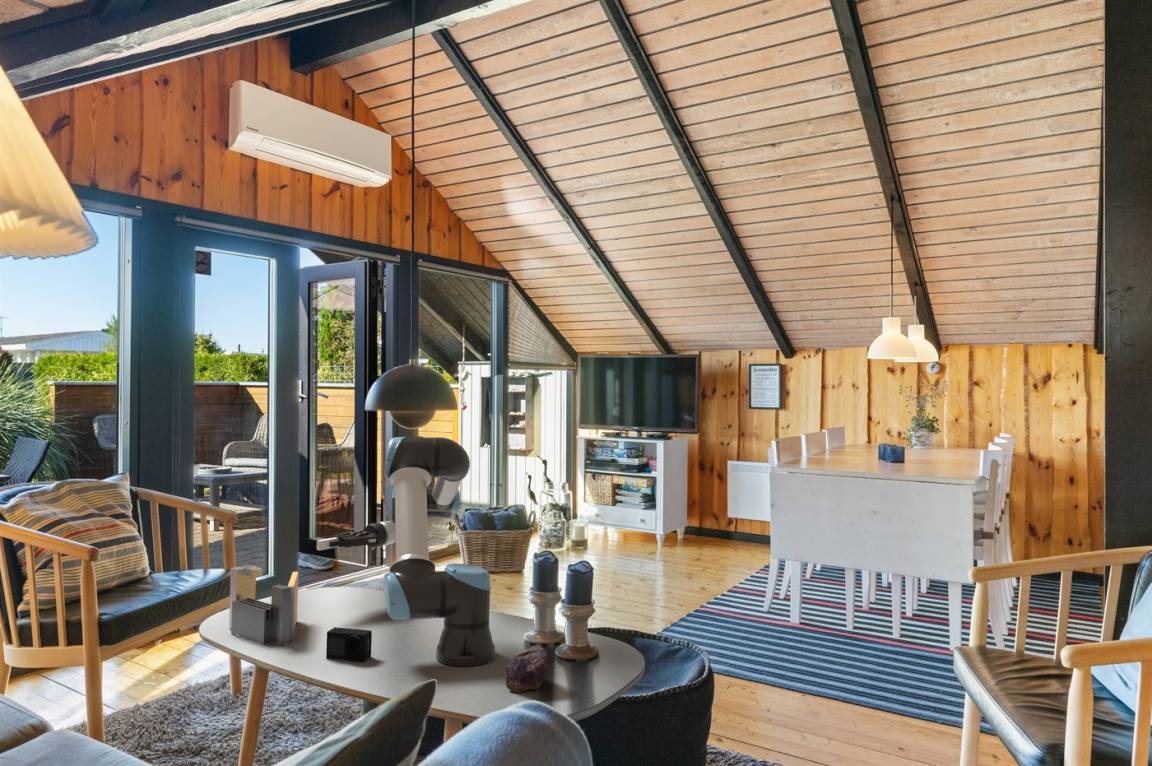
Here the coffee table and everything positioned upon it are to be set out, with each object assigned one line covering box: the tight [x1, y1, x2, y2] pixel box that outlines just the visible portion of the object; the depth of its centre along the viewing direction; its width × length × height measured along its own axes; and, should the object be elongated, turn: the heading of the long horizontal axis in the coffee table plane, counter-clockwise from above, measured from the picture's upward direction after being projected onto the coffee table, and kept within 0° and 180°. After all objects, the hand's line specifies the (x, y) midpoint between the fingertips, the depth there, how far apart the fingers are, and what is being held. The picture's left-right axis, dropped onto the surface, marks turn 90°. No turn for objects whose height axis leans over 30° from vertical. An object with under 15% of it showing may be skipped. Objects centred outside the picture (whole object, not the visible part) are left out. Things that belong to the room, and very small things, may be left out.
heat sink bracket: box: [228, 564, 291, 646], centre depth 218 cm, size 24×8×17 cm, turn 55°
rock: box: [505, 644, 552, 693], centre depth 185 cm, size 12×9×10 cm
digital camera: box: [325, 627, 373, 663], centre depth 201 cm, size 10×5×7 cm, turn 79°
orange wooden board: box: [287, 571, 299, 641], centre depth 222 cm, size 19×2×14 cm, turn 15°
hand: (318, 545), depth 234 cm, fingers closed
